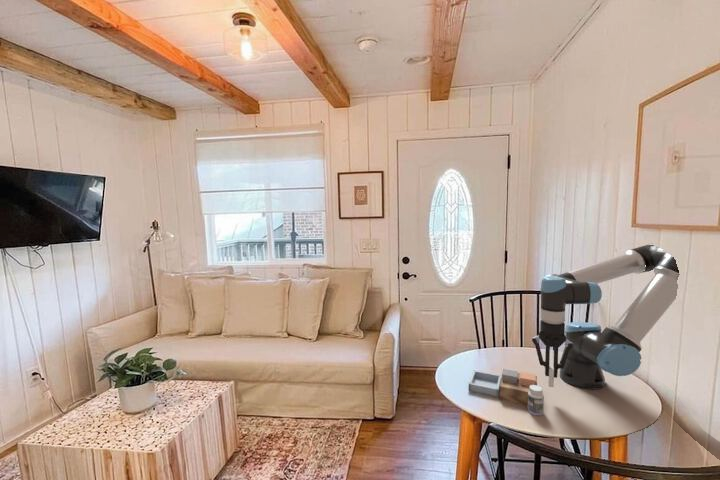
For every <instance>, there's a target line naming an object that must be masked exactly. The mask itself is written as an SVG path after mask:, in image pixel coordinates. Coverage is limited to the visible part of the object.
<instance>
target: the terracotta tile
mask: <svg viewBox="0 0 720 480" xmlns="http://www.w3.org/2000/svg"><path fill="white" fill-rule="evenodd" d="M519 373H520V384H521V385H526V386H530V385H536V376H537V375H536V373H535V374H533V373H529V372H523V371H520V372H519Z"/></svg>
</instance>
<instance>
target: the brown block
mask: <svg viewBox="0 0 720 480" xmlns="http://www.w3.org/2000/svg"><path fill="white" fill-rule="evenodd" d="M520 373H521V372H518V379H517V384H516V383H511V382H506V381H502V376H501V382H500V392H499V400H501V401H504V402H505V401H506V402H510V403H514V404H519V405H523V406H528V392H529V387H530V386H526V385H521V384H520ZM502 374H503V371H502V373H501V375H502ZM536 385H537V386H538V376H537V375H536Z"/></svg>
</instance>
